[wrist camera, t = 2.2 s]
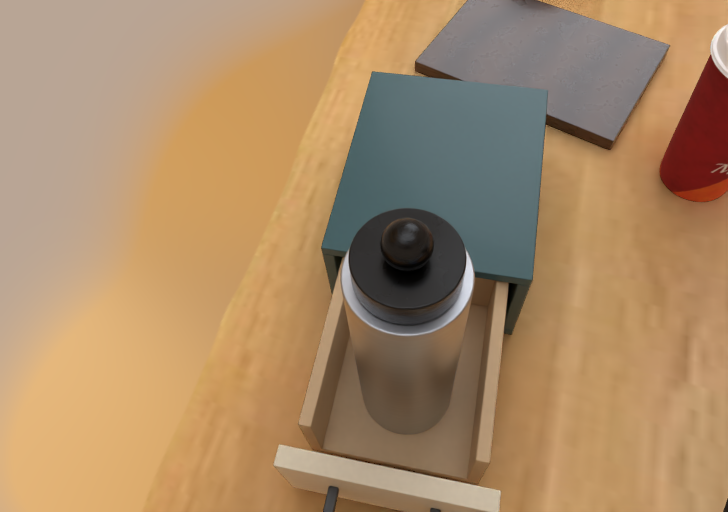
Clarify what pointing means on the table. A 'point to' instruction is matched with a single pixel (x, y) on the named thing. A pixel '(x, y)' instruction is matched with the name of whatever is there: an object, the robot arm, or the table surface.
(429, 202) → the cabinet
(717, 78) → the paper cup
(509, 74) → the board
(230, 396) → the table surface
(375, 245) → the pepper mill
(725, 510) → the robot arm
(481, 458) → the drawer
